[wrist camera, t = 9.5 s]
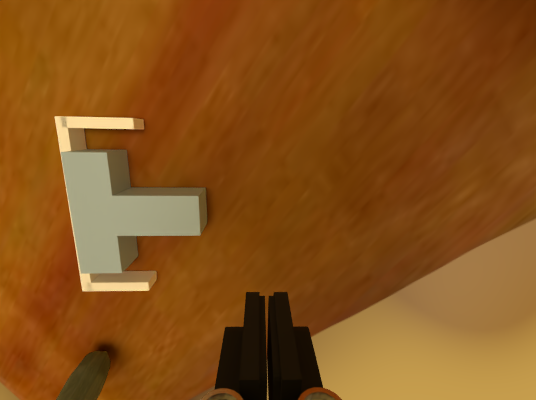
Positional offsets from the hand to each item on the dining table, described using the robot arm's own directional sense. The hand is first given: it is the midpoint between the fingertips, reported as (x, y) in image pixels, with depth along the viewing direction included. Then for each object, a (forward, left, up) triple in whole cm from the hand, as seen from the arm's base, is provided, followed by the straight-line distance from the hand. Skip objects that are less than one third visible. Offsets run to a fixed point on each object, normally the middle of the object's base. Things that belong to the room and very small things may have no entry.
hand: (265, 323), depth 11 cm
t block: (+12, +1, -20) cm, 23 cm away
